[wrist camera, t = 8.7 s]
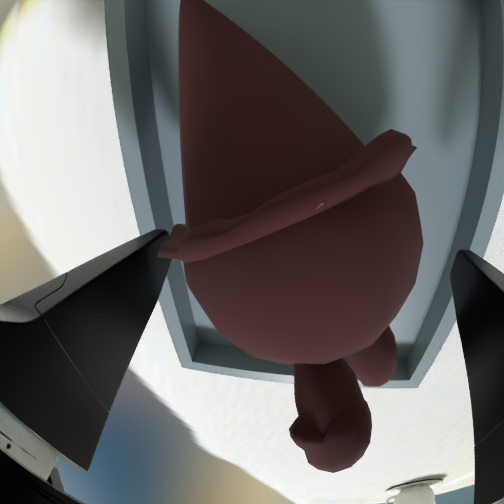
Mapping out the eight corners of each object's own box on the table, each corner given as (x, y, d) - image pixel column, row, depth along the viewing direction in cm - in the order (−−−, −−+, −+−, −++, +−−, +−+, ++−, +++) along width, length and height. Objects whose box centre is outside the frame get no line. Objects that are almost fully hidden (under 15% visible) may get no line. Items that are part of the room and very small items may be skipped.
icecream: (41, 70, 7) (231, 472, 9) (186, -127, 2) (444, 511, 4) (189, 66, 12) (317, 362, 14) (326, -30, 7) (472, 347, 9)
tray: (488, -13, 5) (514, -21, 4) (413, 360, 16) (417, 387, 14) (133, -23, 8) (104, -31, 6) (192, 342, 19) (181, 367, 17)
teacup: (451, 473, 30) (452, 498, 26) (430, 488, 36) (430, 509, 32) (393, 482, 33) (392, 509, 29) (379, 494, 38) (377, 516, 34)
